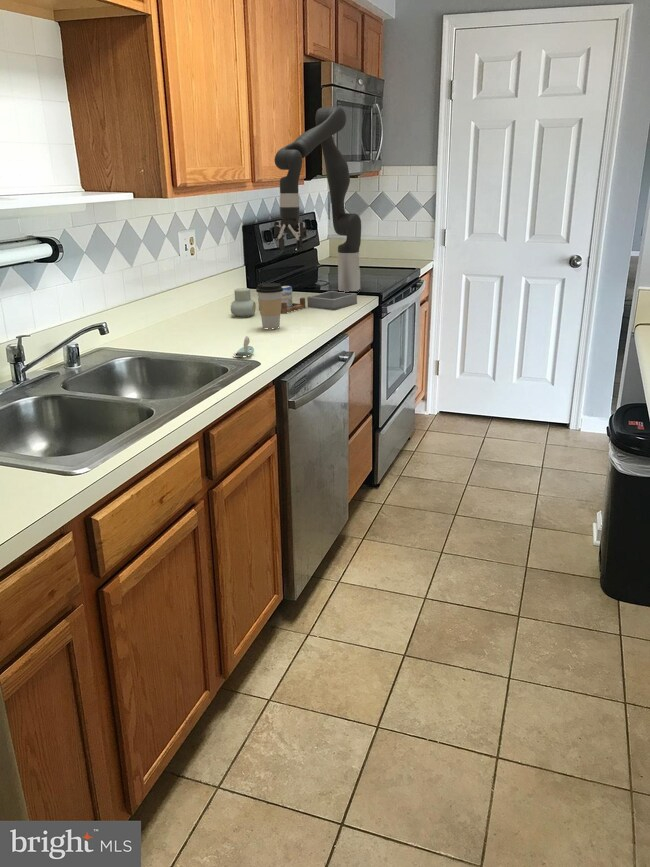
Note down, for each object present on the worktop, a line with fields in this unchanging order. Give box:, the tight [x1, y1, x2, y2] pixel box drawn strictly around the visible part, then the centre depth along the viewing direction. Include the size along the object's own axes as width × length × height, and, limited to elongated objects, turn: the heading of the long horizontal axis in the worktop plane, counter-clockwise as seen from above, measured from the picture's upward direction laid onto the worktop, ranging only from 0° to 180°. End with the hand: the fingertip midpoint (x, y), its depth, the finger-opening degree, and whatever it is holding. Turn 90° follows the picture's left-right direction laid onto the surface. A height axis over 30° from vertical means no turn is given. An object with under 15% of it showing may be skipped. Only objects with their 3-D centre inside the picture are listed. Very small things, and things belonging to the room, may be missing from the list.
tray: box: [306, 290, 358, 311], centre depth 286 cm, size 16×13×4 cm
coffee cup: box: [255, 282, 283, 330], centre depth 248 cm, size 9×9×15 cm
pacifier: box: [232, 335, 255, 358], centre depth 214 cm, size 7×6×6 cm
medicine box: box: [281, 285, 294, 308], centre depth 280 cm, size 8×4×9 cm, turn 143°
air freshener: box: [230, 287, 257, 318], centre depth 270 cm, size 11×8×10 cm
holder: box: [258, 297, 306, 314], centre depth 281 cm, size 13×13×4 cm
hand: (290, 249), depth 278 cm, fingers open, 8 cm apart
